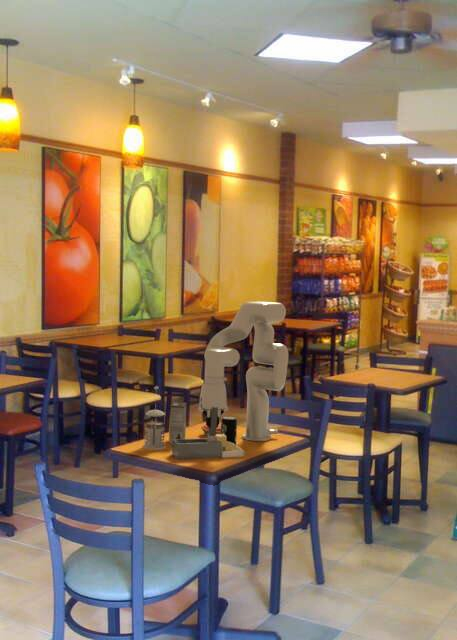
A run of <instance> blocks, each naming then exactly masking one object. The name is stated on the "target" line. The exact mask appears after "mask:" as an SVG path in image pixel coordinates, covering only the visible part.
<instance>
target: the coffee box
mask: <svg viewBox="0 0 457 640" xmlns="http://www.w3.org/2000/svg"><path fill="white" fill-rule="evenodd" d="M187 405H188V403H187V402H176V401H175V402H171V404H170V406H169V430H168V431H169V434H168V437H169V438H168V443H169V444H170V445H171V444H172V439H186V431H187V430H186V429H187Z"/></svg>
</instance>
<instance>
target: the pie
mask: <svg viewBox="0 0 457 640" xmlns="http://www.w3.org/2000/svg"><path fill="white" fill-rule="evenodd" d="M200 429H201V430H202V432H203V433H204V435H205V437H207V436H208V430H209V427H207V425H206V424H204V425H202V426H201V427H200ZM216 434H221V422H219V425H218V427H216Z"/></svg>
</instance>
